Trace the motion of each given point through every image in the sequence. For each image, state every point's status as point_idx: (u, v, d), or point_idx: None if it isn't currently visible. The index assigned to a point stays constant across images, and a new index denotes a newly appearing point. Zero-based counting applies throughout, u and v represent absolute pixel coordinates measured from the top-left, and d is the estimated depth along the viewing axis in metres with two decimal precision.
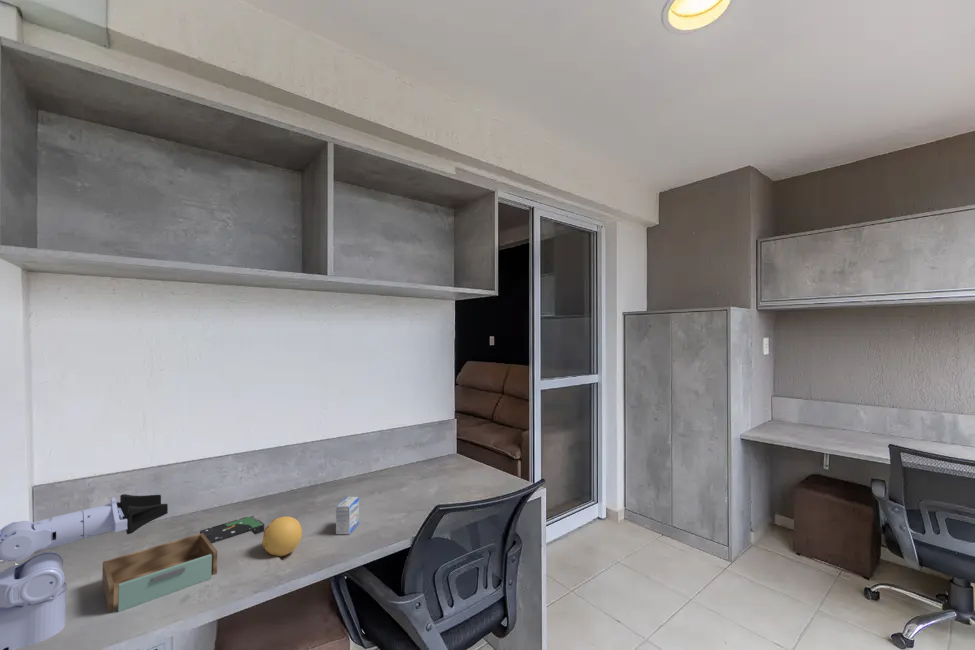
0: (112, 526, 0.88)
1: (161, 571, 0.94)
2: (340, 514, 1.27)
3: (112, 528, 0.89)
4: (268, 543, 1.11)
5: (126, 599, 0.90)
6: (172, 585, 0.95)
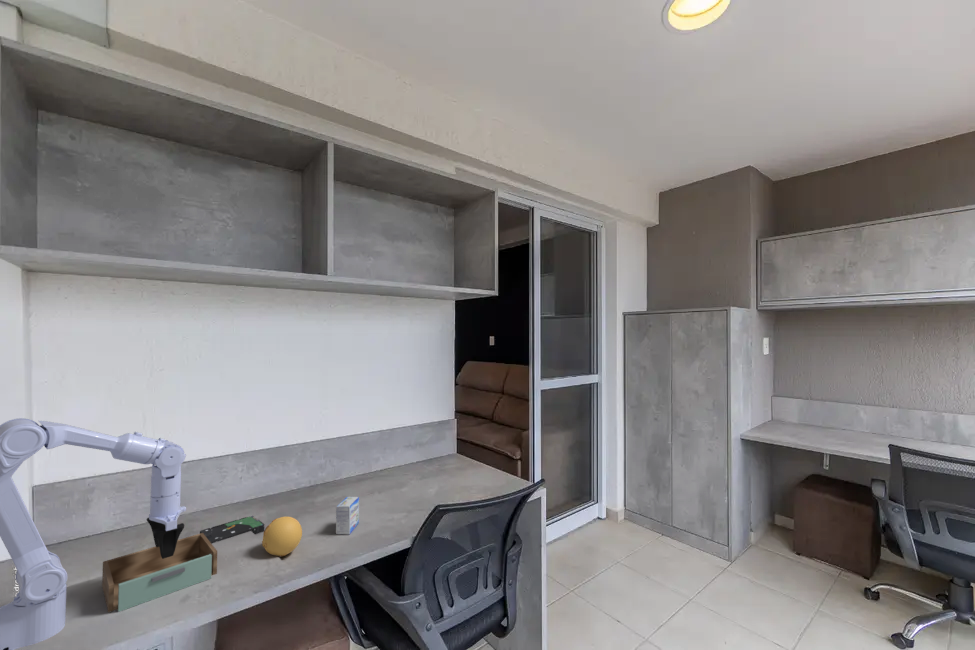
0: (161, 516, 0.96)
1: (161, 571, 0.94)
2: (340, 514, 1.27)
3: (158, 517, 0.96)
4: (268, 543, 1.10)
5: (126, 599, 0.90)
6: (172, 585, 0.95)
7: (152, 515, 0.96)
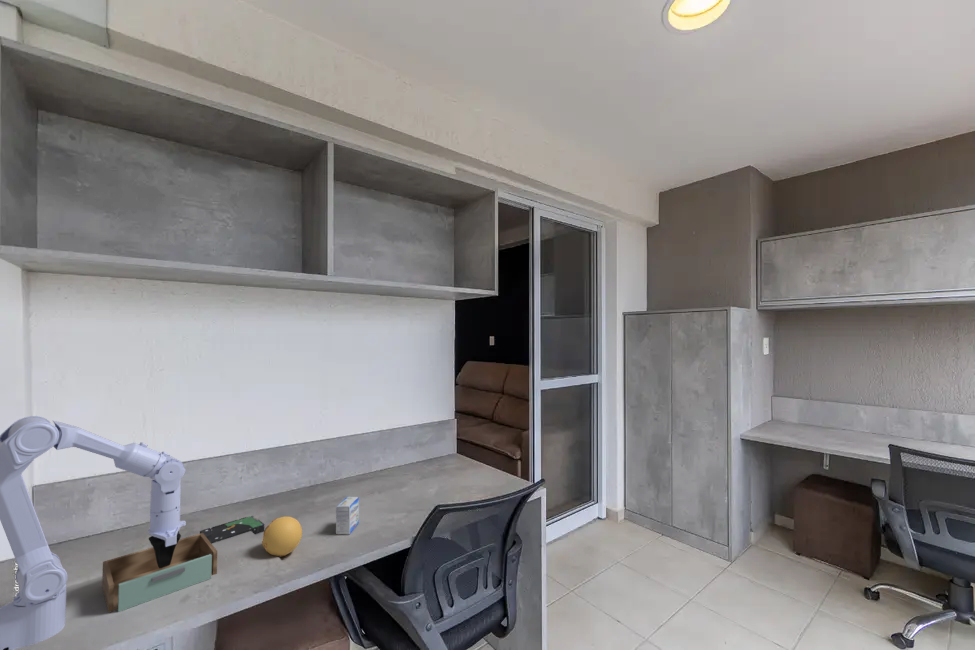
0: (160, 532, 0.96)
1: (161, 571, 0.94)
2: (340, 515, 1.27)
3: (157, 532, 0.96)
4: (268, 543, 1.11)
5: (126, 599, 0.90)
6: (172, 585, 0.95)
7: (152, 530, 0.96)
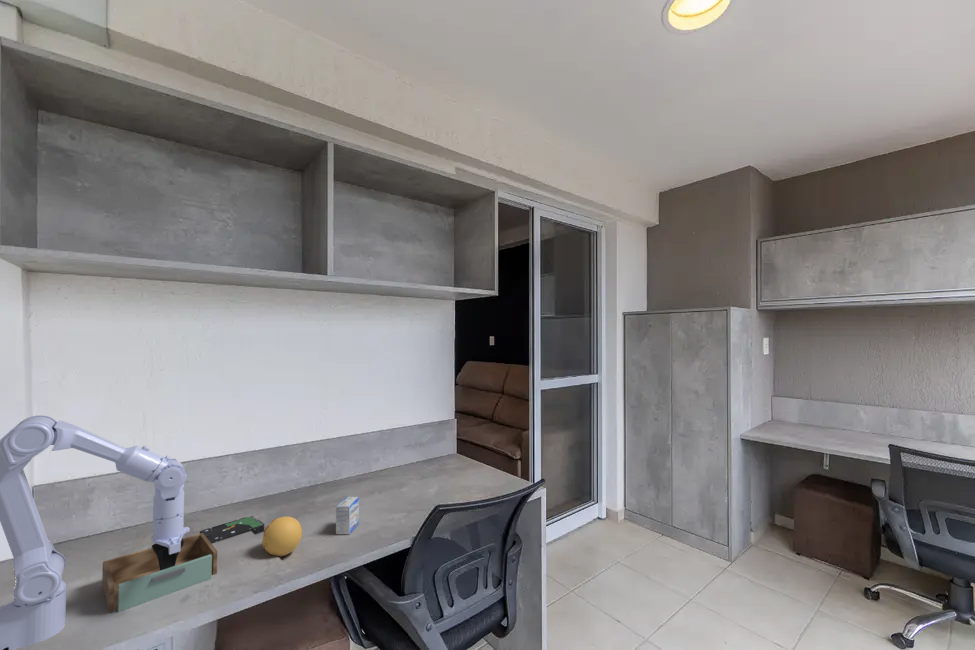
0: (164, 539, 0.93)
1: (161, 571, 0.94)
2: (340, 515, 1.27)
3: (161, 539, 0.93)
4: (268, 543, 1.11)
5: (126, 599, 0.89)
6: (172, 585, 0.95)
7: (155, 537, 0.93)
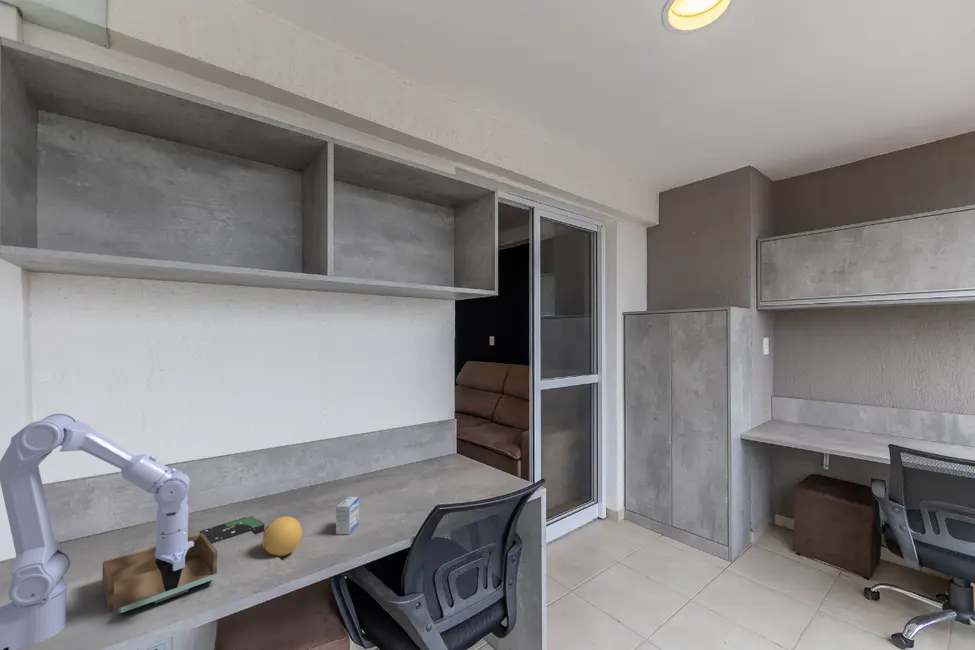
0: (167, 554, 0.91)
1: (165, 595, 0.91)
2: (340, 514, 1.27)
3: (164, 555, 0.90)
4: (268, 543, 1.10)
5: None
6: None
7: (158, 553, 0.91)
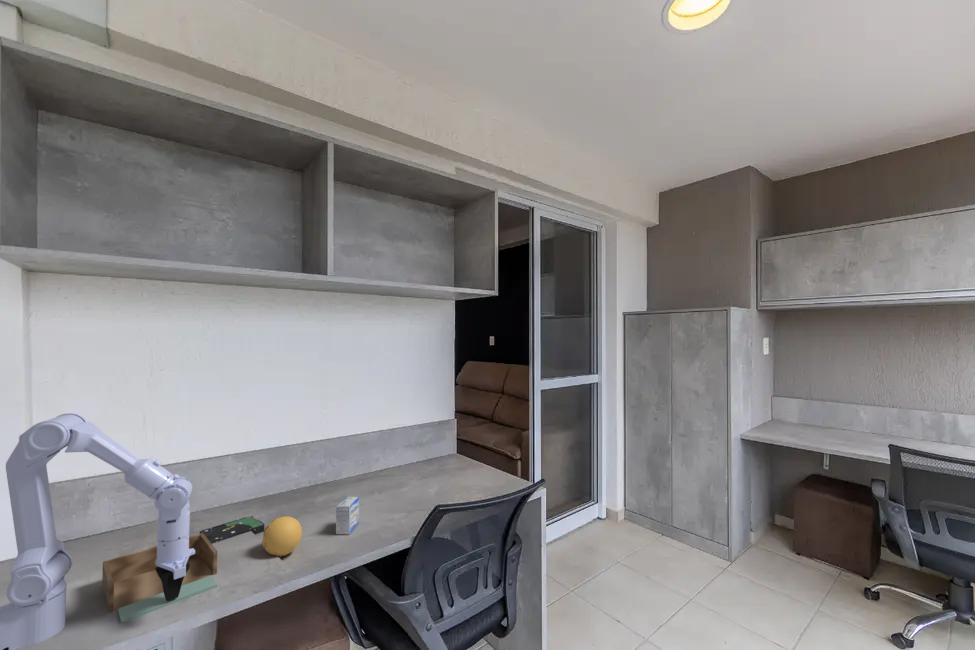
0: (168, 562, 0.89)
1: (165, 606, 0.90)
2: (340, 514, 1.27)
3: (165, 563, 0.89)
4: (268, 543, 1.11)
5: None
6: None
7: (159, 561, 0.89)
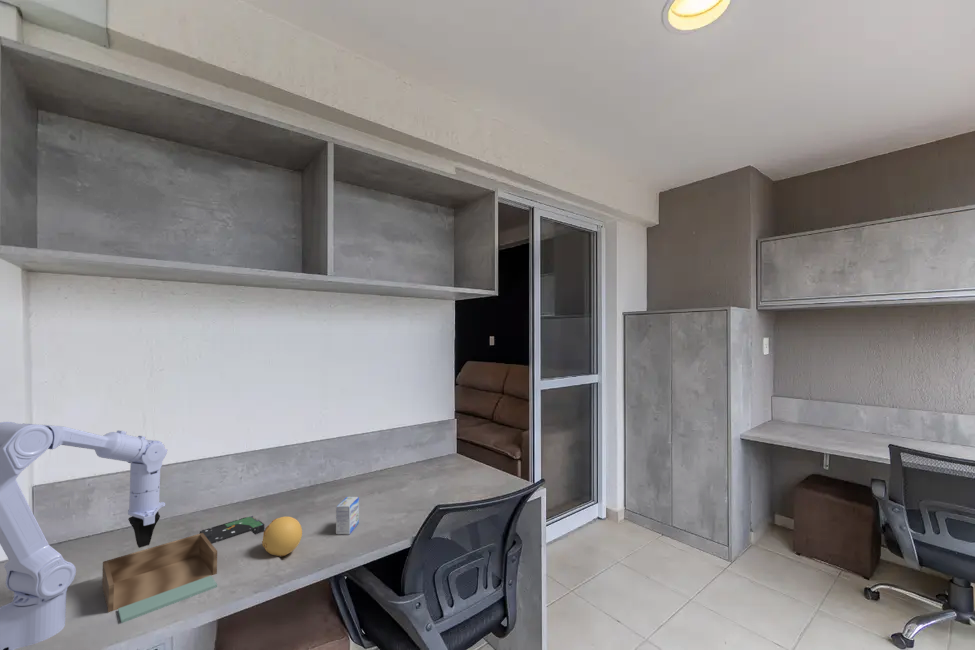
0: (139, 511, 0.99)
1: (165, 606, 0.90)
2: (340, 514, 1.27)
3: (136, 512, 0.98)
4: (268, 543, 1.11)
5: None
6: None
7: (131, 510, 0.99)
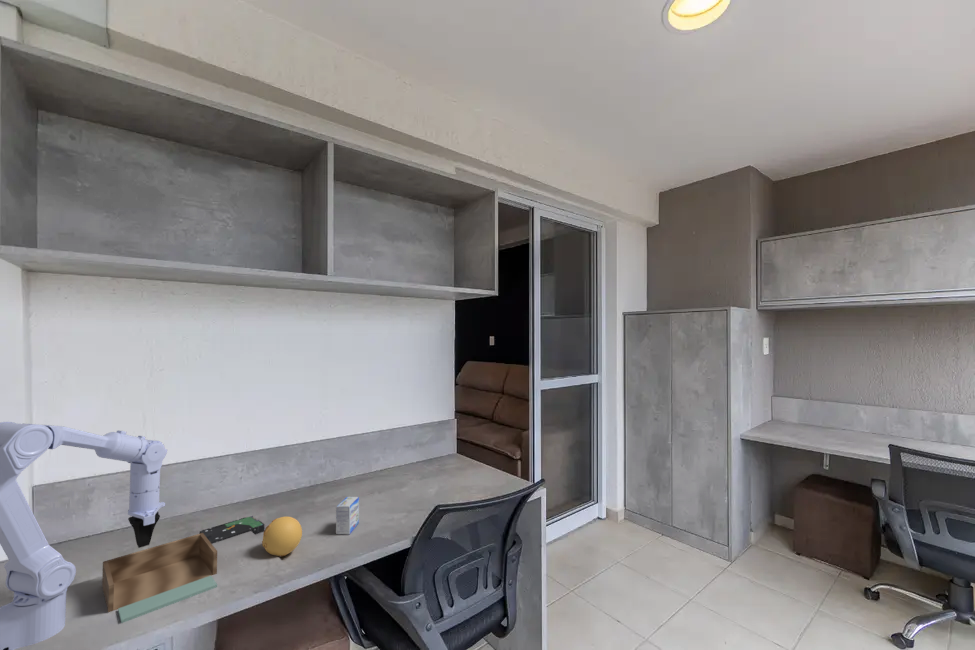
0: (139, 511, 0.99)
1: (165, 606, 0.90)
2: (340, 514, 1.27)
3: (136, 512, 0.98)
4: (268, 543, 1.11)
5: None
6: None
7: (131, 510, 0.99)
